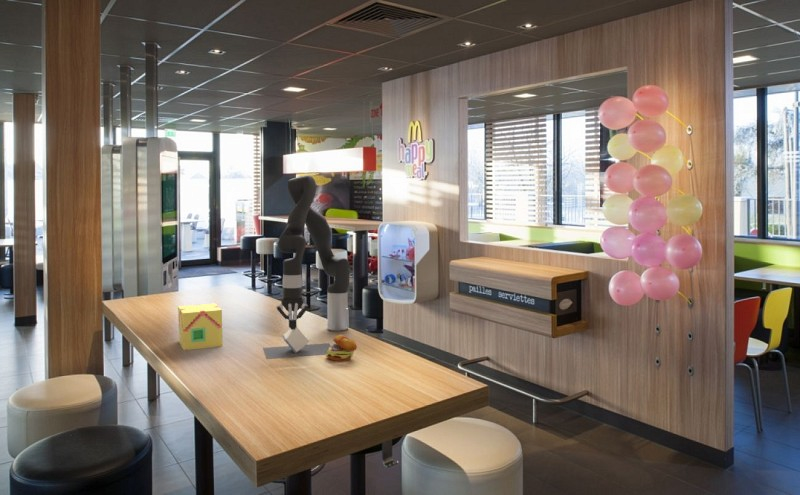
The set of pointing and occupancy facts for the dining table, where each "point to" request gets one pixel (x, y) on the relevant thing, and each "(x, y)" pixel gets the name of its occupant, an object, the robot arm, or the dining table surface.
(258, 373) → the dining table surface
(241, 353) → the dining table surface
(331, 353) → the cheeseburger
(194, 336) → the toy block
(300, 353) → the rubber mat
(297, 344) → the cream cube
